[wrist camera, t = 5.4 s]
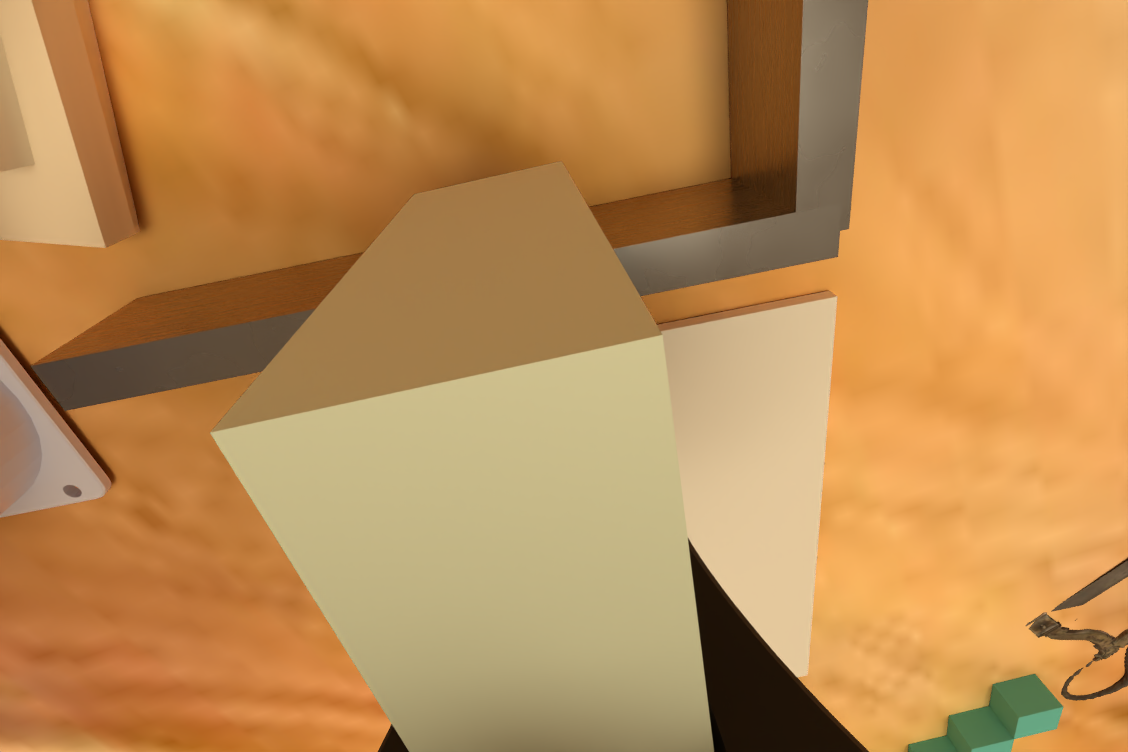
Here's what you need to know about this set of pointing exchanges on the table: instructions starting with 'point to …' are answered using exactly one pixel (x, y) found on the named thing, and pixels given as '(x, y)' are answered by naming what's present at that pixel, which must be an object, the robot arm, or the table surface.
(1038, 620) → the hacksaw
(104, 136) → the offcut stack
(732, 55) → the offcut rack
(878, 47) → the table surface
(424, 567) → the sage board
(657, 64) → the table surface
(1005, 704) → the alien figure
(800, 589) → the rubber mat
